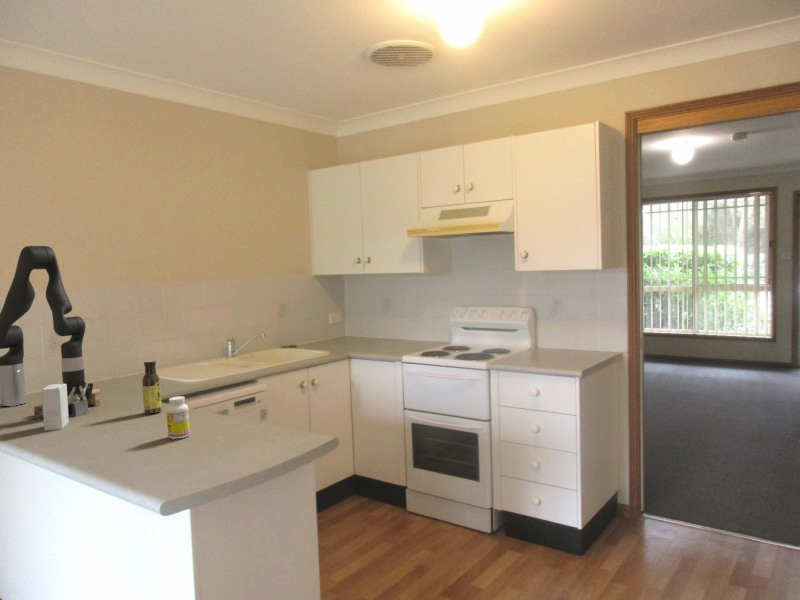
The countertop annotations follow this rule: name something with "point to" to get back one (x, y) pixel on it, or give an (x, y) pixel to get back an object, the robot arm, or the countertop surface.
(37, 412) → the walnut block
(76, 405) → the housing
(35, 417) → the rubber puck
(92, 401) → the stand
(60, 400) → the skincare box
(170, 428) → the supplement bottle
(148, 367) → the sauce bottle
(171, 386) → the countertop surface
